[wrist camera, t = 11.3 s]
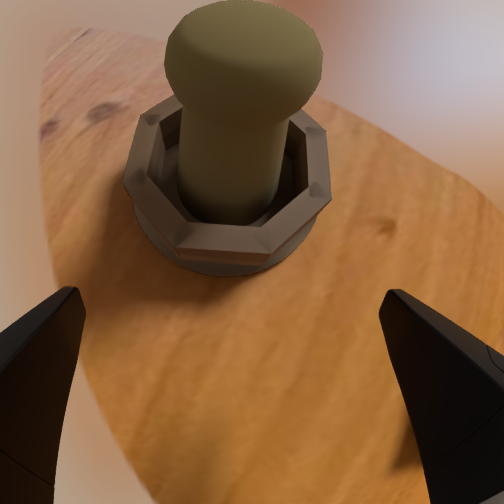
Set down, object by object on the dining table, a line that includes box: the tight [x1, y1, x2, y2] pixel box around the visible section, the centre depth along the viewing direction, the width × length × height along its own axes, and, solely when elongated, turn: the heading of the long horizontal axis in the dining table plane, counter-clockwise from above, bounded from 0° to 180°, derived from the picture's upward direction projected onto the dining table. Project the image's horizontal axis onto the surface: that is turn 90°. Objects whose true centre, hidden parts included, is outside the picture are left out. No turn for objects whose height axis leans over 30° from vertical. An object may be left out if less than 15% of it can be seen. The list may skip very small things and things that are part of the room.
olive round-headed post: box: [164, 0, 323, 226], centre depth 12 cm, size 6×6×11 cm
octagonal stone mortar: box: [122, 94, 332, 277], centre depth 16 cm, size 12×12×4 cm
